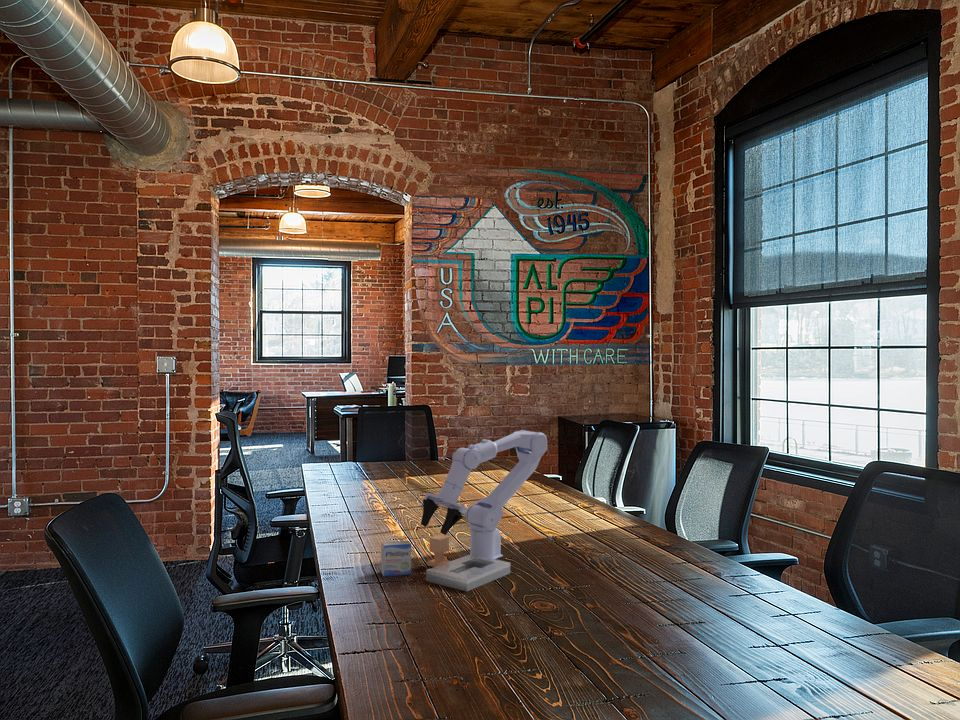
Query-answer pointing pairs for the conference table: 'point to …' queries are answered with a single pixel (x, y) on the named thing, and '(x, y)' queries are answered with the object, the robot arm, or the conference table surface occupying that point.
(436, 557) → the headed stud
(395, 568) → the medicine box
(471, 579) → the keyhole plate
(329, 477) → the conference table surface
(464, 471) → the robot arm
